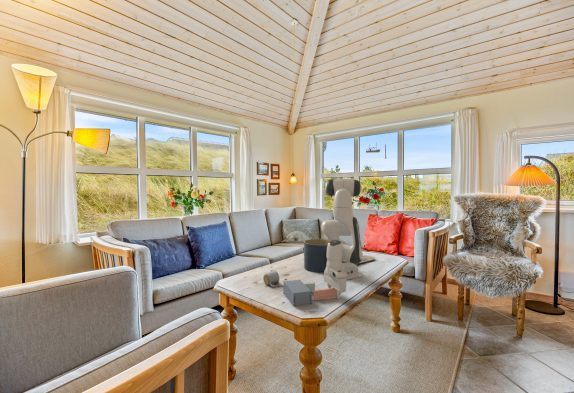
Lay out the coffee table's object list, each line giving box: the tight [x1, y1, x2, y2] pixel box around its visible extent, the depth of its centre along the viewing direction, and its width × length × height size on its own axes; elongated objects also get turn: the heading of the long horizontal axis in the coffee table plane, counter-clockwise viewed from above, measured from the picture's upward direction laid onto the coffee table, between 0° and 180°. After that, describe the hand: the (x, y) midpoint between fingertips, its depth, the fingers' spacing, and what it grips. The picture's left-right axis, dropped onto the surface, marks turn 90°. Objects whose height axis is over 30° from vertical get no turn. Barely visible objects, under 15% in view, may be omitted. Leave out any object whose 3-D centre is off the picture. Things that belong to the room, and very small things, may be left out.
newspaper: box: [355, 255, 376, 266], centre depth 223 cm, size 35×12×4 cm, turn 131°
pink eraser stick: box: [313, 287, 338, 301], centre depth 152 cm, size 14×1×5 cm, turn 108°
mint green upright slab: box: [303, 282, 316, 293], centre depth 159 cm, size 14×1×5 cm, turn 108°
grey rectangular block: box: [283, 279, 314, 307], centre depth 152 cm, size 11×18×7 cm, turn 18°
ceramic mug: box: [263, 270, 280, 288], centre depth 173 cm, size 11×8×8 cm
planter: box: [303, 238, 330, 274], centre depth 207 cm, size 22×22×20 cm
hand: (334, 294), depth 153 cm, fingers open, 8 cm apart
